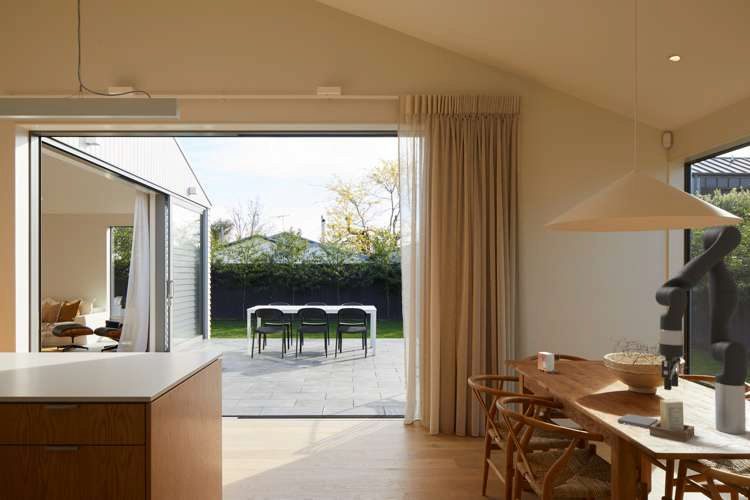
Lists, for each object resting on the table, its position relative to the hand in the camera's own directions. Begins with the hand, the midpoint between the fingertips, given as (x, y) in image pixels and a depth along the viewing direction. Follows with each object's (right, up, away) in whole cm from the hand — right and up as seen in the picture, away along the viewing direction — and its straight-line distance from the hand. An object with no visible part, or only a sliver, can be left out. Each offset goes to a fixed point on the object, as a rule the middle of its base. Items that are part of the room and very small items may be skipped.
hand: (671, 388), depth 192 cm
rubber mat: (-5, -17, +15) cm, 23 cm away
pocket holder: (0, -17, -1) cm, 17 cm away
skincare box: (0, -17, -1) cm, 17 cm away
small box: (-8, -21, +117) cm, 119 cm away
